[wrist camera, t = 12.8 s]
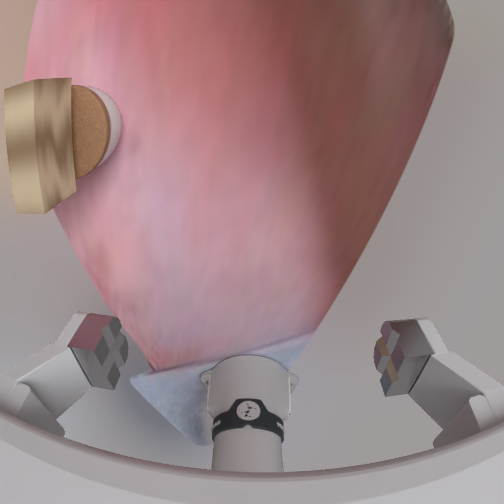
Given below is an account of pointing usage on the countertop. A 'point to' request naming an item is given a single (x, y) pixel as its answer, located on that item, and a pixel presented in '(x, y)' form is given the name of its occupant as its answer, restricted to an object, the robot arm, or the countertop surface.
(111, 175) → the countertop surface
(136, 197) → the countertop surface
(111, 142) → the lidded jar
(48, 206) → the beech block
